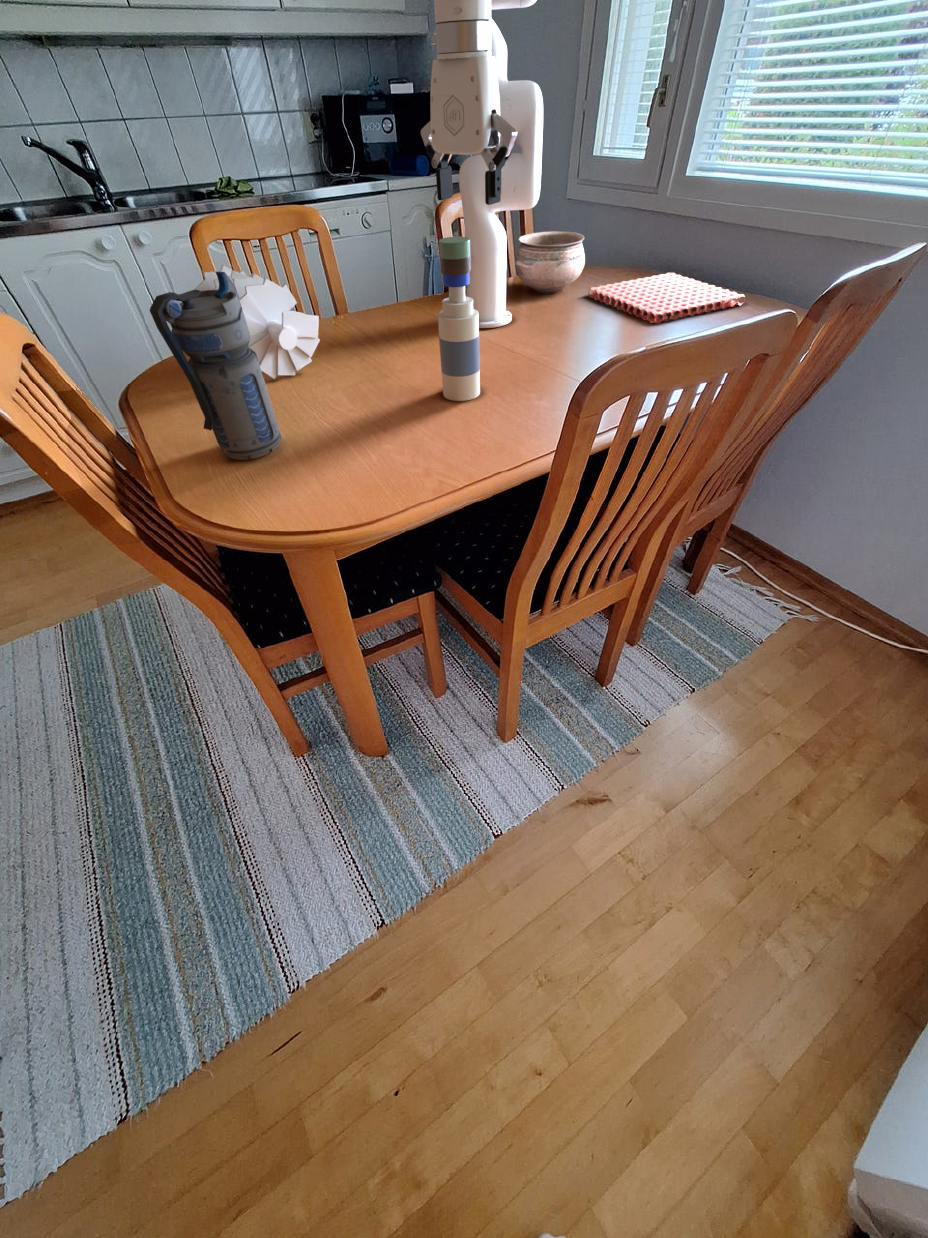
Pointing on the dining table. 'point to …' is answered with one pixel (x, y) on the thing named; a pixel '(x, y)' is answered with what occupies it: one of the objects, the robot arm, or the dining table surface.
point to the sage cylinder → (454, 247)
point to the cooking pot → (550, 260)
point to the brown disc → (455, 266)
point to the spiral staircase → (271, 322)
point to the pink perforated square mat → (665, 297)
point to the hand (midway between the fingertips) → (468, 200)
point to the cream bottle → (459, 341)
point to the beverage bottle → (220, 366)
